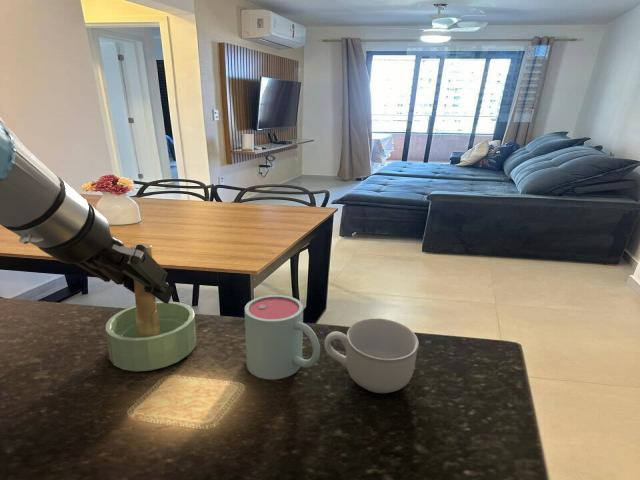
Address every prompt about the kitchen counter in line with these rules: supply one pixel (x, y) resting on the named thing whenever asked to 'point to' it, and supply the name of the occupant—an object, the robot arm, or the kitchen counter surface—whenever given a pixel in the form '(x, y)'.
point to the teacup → (377, 354)
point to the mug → (277, 337)
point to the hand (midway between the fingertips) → (159, 294)
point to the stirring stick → (145, 308)
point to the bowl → (151, 338)
